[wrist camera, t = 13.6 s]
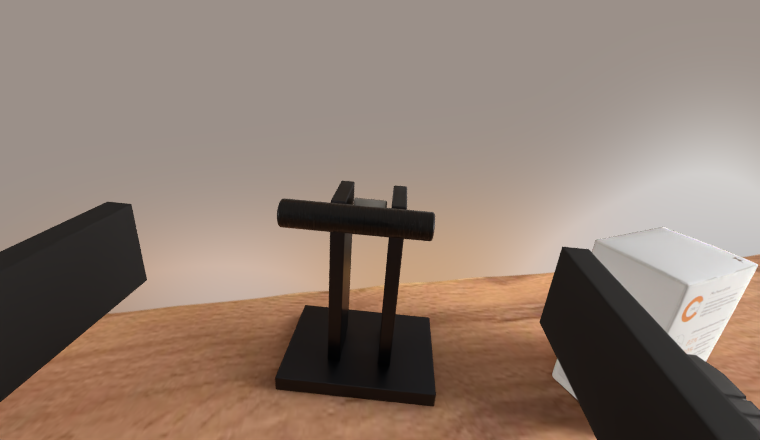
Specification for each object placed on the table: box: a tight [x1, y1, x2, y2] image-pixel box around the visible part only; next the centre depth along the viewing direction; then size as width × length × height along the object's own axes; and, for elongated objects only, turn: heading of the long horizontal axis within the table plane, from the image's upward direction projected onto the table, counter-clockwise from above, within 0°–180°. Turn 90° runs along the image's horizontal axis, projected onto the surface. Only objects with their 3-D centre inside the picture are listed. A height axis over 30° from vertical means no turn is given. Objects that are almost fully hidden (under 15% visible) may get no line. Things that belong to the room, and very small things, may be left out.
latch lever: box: [277, 198, 435, 241], centre depth 22 cm, size 12×7×2 cm, turn 176°
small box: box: [552, 227, 758, 399], centre depth 28 cm, size 8×6×13 cm
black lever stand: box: [275, 181, 436, 406], centre depth 29 cm, size 9×12×15 cm
